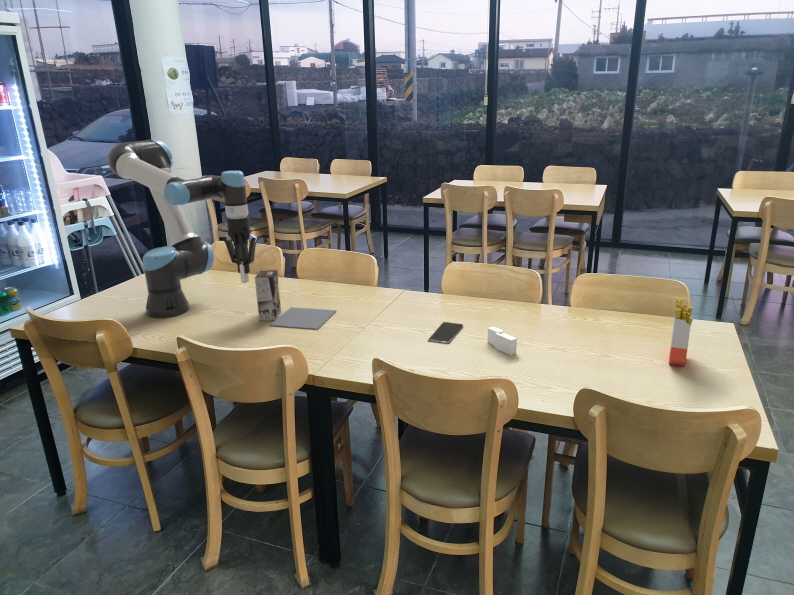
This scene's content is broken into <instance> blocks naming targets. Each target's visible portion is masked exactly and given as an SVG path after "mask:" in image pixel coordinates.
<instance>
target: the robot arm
mask: <svg viewBox="0 0 794 595" xmlns="http://www.w3.org/2000/svg"><path fill="white" fill-rule="evenodd" d="M173 159H174V157H173V154H172V151H171V149H170V148H169V146H168V145H167V144H166V143H164V141H161V140H158V139H146V140H138V141H130V142H129V141H127V142H120V143H117V144H116V145H114V146H113V147H112V148H111V149H110V150H109V152H108V155H107V164H108V166H109V169H110V170H111V171H112V173H113V174H115V175H117V176H118V177H120V178H122V179H124V180H132V181H135V182H136V183H139V184H141V185H143V186H145V187H147V188H148V189H149V191H150V193H151V196H152V198H153V200H154V202H155V204H156V207H157V209H158V211H159V213H160V217H161V219H162V221H163V223H164V225H165V226H164V227H165V228H166V231H167V233H168V235H169V237H170V239H171V244H170V245H167V246H162V247H159V246H158V247H155V248H153V249H150V250H148V251H146V252H145V253H144V254H143V256H142V263H143V264H142V268H143V270H144V275H145V282H146V287H147V292H148V293H147V294H148V295H147V300H146V304H145V312H146V315H147V316H148V315H149V317H150V316H152V317H151V318H157V317H162V318H171V317H175V316H180V315H182V314H184V313H186V312H187V311H189V310H190V304H189V301H188V299H187V298H186V295H185V292H184V290H183V289H182V285H181V280H184V279H187V278H190V277H193V276H197V275H202V274H204V273H206V272H208V271H210V270H211V269H212V268H213V266H214V261H215V253H214V250H213V247H212V246H211V244H210V243H209V242H207V241H204V240H202V238H201V236H200V235H199V234H196V233H195V232H194V229H193V228H192V225H191V223H190V220H189V219H188V216H187V213H186V211H185V209H184V206H183V205H186V204H190V203H196V202H200V201H201V202H202V201H206V200H212V199H223V202H224V209H225V216H226V217H227V218H226V224H227V229H228V230H227V234H226V235H223V236H222V237H221V238H222V241H223V242H224V244H225V245H226V249H227V252H228V254H229V258H230V261H231V263H232V264H236V265H237V271H238V272H237V273H238V274H240V280H241V284H246V283H248V282H250V278H249V273H250V272H251V270H250V264H251V263H254V261H255V254H256V245H257V241H258V239H259V237H258V236H257V235H254V234H252V231H251V227H250V226H251V225H250V217H249V216H248V215H249V207H248V200H247V199H248V198H247V190H246V189H247V188H246V181H245V180H246V179H245V176H244V172H243V171H241V170H226V171H222V172H221V174H220V175H213V174H212V175H211V174H209V175H206V174H205V175H203V176H201V177H198V178H190V179H183V178H181V177H179V176H176V175H175V174H173V173H171V172H172V167H173V164H174V161H173ZM248 245H249V246H248ZM181 313H182V314H181ZM170 316H171V317H170Z"/></svg>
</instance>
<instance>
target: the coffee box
mask: <svg viewBox="0 0 794 595" xmlns="http://www.w3.org/2000/svg"><path fill="white" fill-rule="evenodd" d="M254 282H255V292H256V301H257V302H256V303H257V310H258V311H257V312H258V320H259V321H275V320H276V319H277V318H279V317H280V314H281V313H282V309H281V308H282V306H281V305H282V304H281V296H280V285H279V275H278V270H277V269H270V270H269V269H268V270H260V271H259V272H258V273H257V274H256V276H255V277H254Z"/></svg>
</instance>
